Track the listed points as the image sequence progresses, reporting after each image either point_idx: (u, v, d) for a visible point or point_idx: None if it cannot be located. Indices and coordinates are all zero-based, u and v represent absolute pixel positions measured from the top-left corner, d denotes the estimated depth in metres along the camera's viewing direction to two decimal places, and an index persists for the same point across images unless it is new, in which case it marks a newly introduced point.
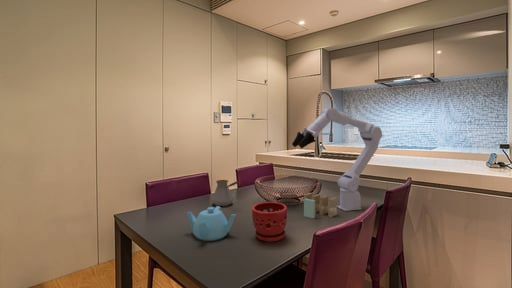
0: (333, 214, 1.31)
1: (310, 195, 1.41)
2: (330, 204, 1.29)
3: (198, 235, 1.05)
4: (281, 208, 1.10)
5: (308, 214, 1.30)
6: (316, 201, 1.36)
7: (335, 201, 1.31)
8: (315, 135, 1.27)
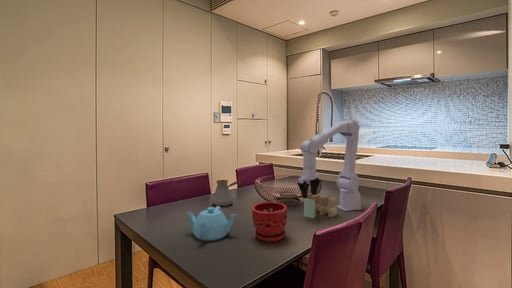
0: (333, 214, 1.31)
1: (310, 195, 1.41)
2: (330, 204, 1.29)
3: (198, 235, 1.05)
4: (281, 208, 1.10)
5: (308, 214, 1.30)
6: (315, 201, 1.36)
7: (335, 201, 1.31)
8: (300, 181, 1.24)
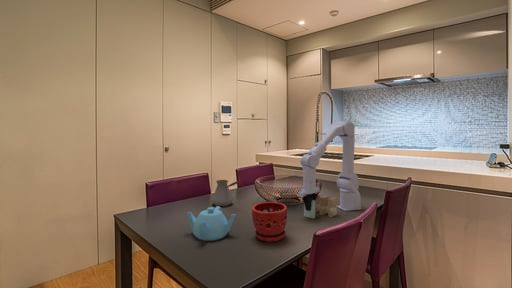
0: (333, 214, 1.31)
1: None
2: (330, 204, 1.29)
3: (198, 235, 1.05)
4: (281, 208, 1.10)
5: (308, 214, 1.30)
6: (315, 201, 1.36)
7: (335, 201, 1.31)
8: (300, 195, 1.24)
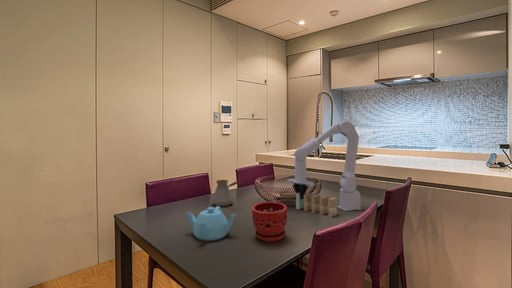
0: (333, 214, 1.31)
1: (310, 195, 1.41)
2: (330, 204, 1.29)
3: (198, 235, 1.05)
4: (281, 208, 1.10)
5: (301, 205, 1.44)
6: (315, 201, 1.36)
7: (335, 201, 1.31)
8: (312, 185, 1.39)
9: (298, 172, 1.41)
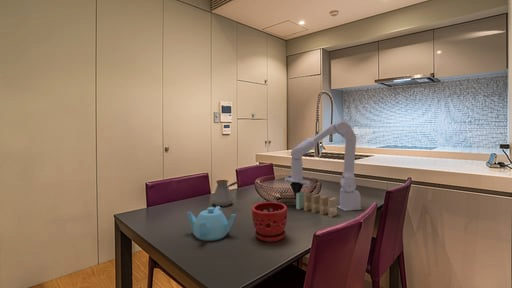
0: (333, 214, 1.31)
1: (310, 195, 1.41)
2: (330, 204, 1.29)
3: (198, 235, 1.05)
4: (281, 208, 1.10)
5: (301, 205, 1.44)
6: (315, 201, 1.36)
7: (335, 201, 1.31)
8: (308, 183, 1.40)
9: (294, 171, 1.42)
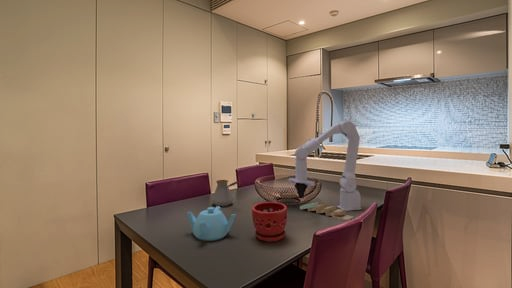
0: None
1: (324, 207, 1.36)
2: None
3: (198, 235, 1.05)
4: (281, 208, 1.10)
5: None
6: None
7: None
8: (313, 184, 1.38)
9: (299, 171, 1.40)
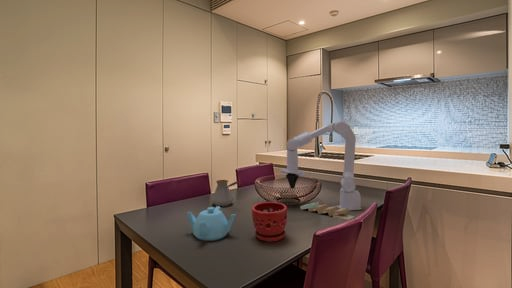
0: None
1: (324, 208, 1.36)
2: None
3: (198, 235, 1.05)
4: (281, 208, 1.10)
5: None
6: (329, 211, 1.32)
7: None
8: (304, 174, 1.42)
9: (289, 162, 1.44)
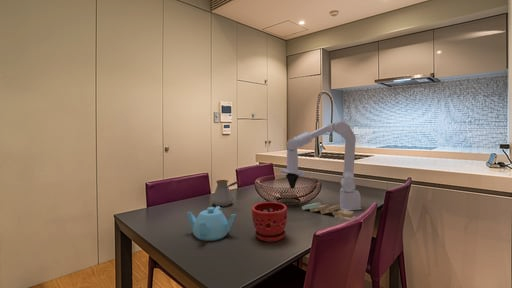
0: None
1: (326, 208, 1.35)
2: (346, 220, 1.25)
3: (198, 235, 1.05)
4: (281, 208, 1.10)
5: None
6: (332, 210, 1.31)
7: None
8: (304, 174, 1.42)
9: (289, 162, 1.44)
